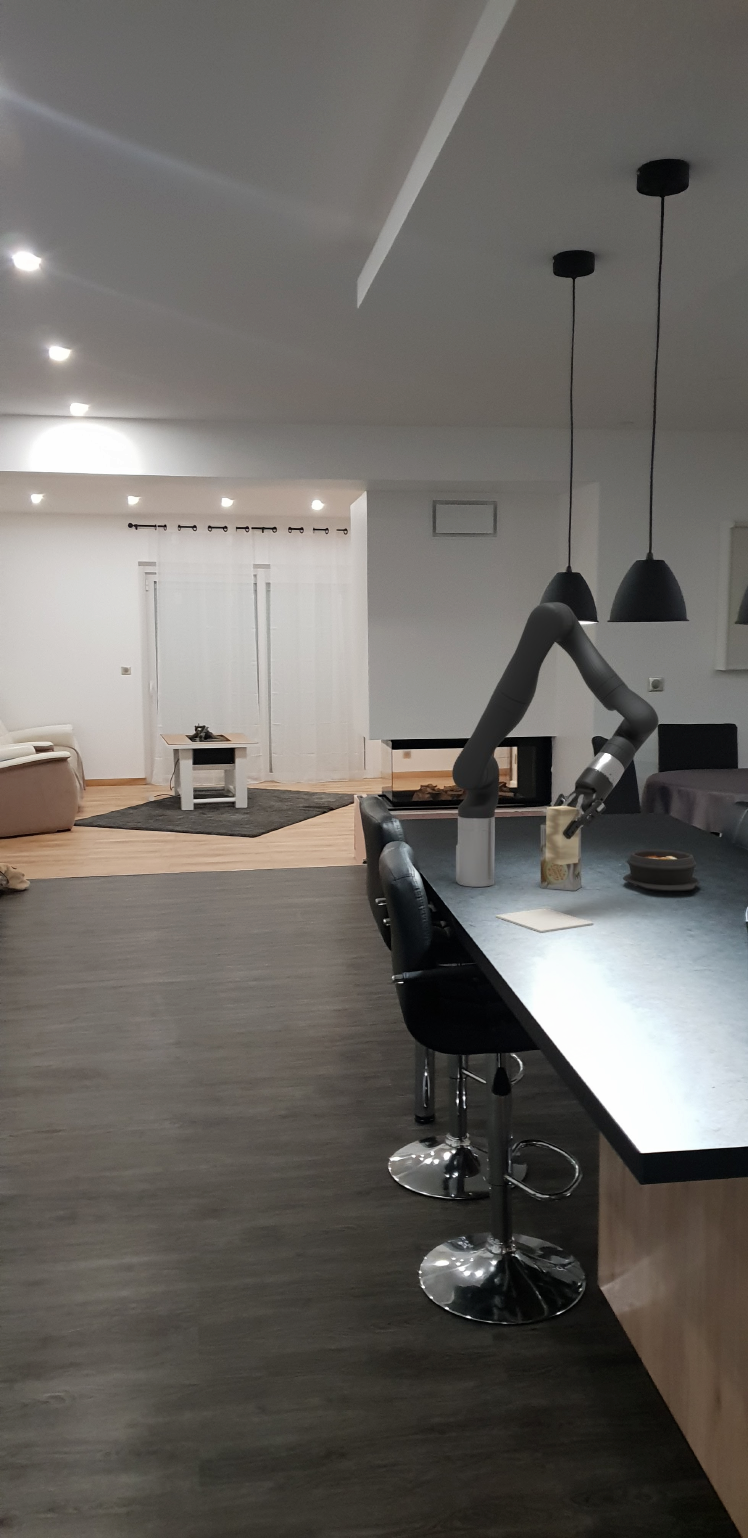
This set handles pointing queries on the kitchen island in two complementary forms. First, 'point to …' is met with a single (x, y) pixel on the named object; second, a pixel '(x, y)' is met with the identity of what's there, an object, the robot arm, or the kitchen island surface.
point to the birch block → (560, 836)
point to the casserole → (662, 870)
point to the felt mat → (544, 920)
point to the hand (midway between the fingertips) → (557, 834)
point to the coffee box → (560, 868)
